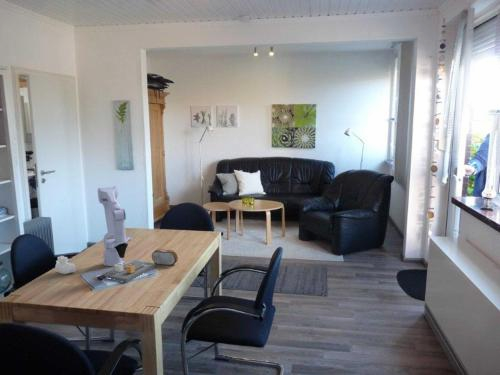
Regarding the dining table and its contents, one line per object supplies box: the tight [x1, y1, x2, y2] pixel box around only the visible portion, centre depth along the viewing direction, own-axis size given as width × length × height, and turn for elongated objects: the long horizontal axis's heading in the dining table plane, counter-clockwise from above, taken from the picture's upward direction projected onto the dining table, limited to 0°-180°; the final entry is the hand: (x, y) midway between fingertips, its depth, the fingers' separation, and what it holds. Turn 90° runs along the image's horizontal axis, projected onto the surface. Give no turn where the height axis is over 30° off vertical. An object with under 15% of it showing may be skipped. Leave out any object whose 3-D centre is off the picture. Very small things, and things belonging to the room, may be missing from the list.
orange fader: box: [126, 264, 135, 273], centre depth 212 cm, size 3×3×4 cm
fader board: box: [103, 259, 157, 284], centre depth 218 cm, size 15×23×2 cm, turn 155°
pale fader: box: [114, 263, 124, 272], centre depth 215 cm, size 3×3×4 cm
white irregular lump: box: [55, 255, 77, 275], centre depth 218 cm, size 12×8×11 cm
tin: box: [151, 248, 179, 266], centre depth 229 cm, size 15×3×8 cm, turn 74°
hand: (121, 257), depth 214 cm, fingers closed
